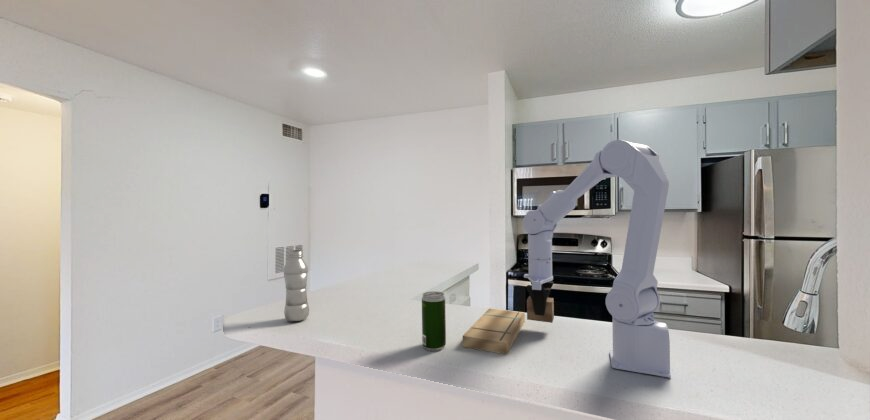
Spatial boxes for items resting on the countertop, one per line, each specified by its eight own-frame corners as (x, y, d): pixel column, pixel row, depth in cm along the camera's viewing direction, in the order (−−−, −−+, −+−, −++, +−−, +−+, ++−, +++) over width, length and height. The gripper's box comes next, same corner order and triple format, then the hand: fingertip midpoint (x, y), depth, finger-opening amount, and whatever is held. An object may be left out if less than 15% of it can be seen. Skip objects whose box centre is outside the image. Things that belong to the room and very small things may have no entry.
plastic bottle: (304, 324, 92) (302, 252, 91) (279, 324, 92) (278, 252, 92) (313, 316, 98) (311, 249, 98) (290, 316, 98) (289, 249, 98)
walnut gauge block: (553, 317, 84) (553, 298, 84) (552, 322, 81) (552, 302, 81) (529, 314, 87) (529, 295, 87) (527, 319, 83) (526, 299, 83)
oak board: (524, 321, 91) (524, 312, 91) (506, 354, 71) (506, 342, 71) (489, 317, 95) (489, 308, 95) (462, 346, 75) (462, 335, 75)
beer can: (430, 354, 72) (429, 298, 71) (418, 345, 76) (417, 293, 76) (450, 347, 75) (449, 294, 74) (437, 340, 79) (436, 290, 79)
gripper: (528, 253, 92) (529, 302, 92) (518, 261, 79) (519, 318, 79) (555, 255, 89) (556, 305, 89) (549, 263, 76) (550, 322, 76)
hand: (540, 312), depth 84 cm, fingers closed on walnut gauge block, 4 cm apart
